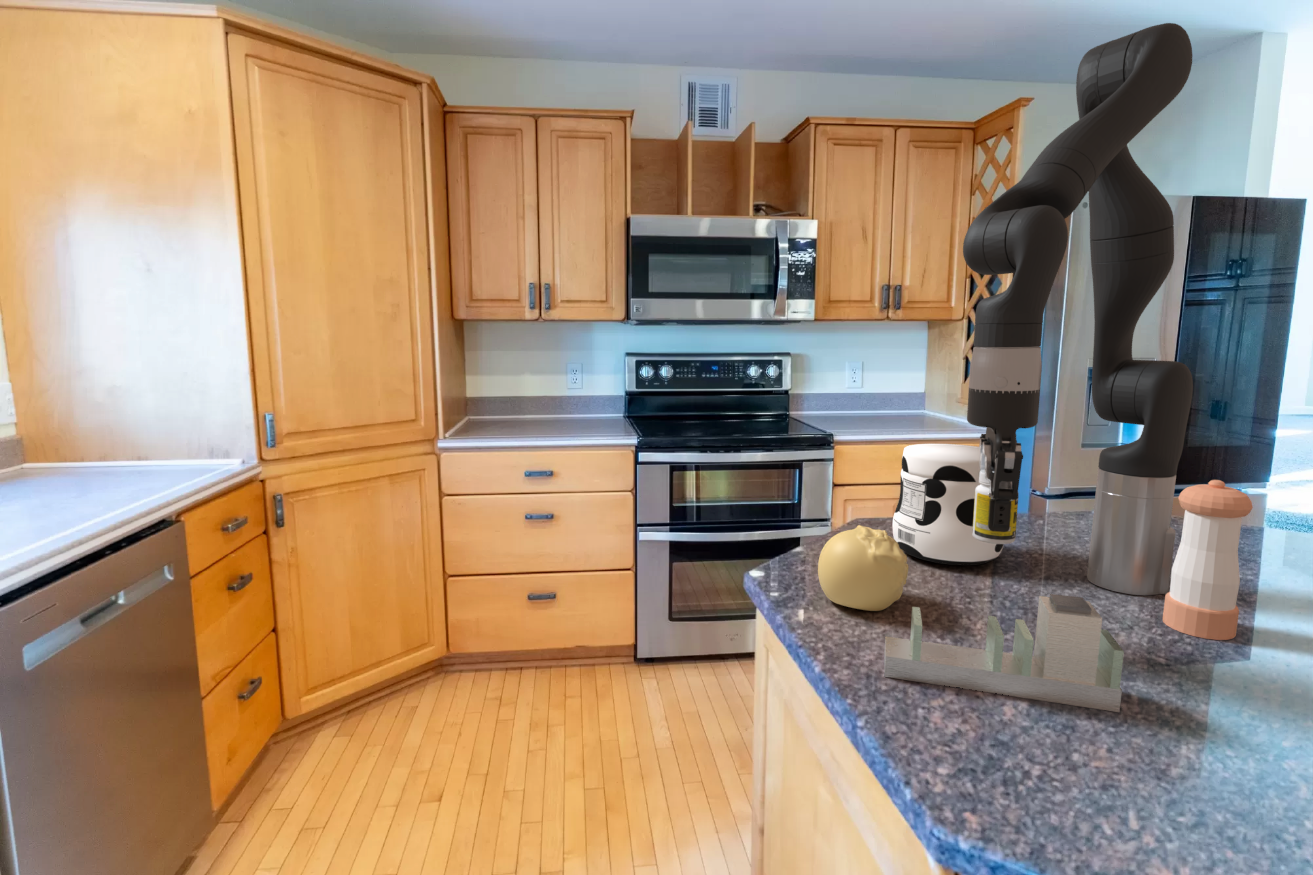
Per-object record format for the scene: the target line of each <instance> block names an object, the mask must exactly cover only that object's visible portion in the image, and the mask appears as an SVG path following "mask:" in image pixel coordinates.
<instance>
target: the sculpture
mask: <svg viewBox="0 0 1313 875" xmlns="http://www.w3.org/2000/svg"><path fill="white" fill-rule="evenodd" d="M907 562H908V556H907V554H905V552H904V551H903V550H902V549H900V548H899V545H898V543H897V542H896V540H895V539H894V537H892V536H890V535H888V531H887V530H884V529H883V530H882V529H874V528H871V527H868V526H863V525H862V524H861V525H860V524H858V525H857V526H856V527H855V528H853V529H848V530H843V531H841V532H838V533H837V534H835V535H833V536H832V537H831V538H829V539H828V540H827V541H826V543H825V544H824V546H823V548H822V549H821V551H820V554H819V558H818V564H817V574H818V581H819V584H820V587H821V589H822V591H823V593H824V595H825V596H826V598H827V599H828V600H830V601H831V602H833V603H835V604H837V605H840V606H842V607H843V606H844V607H846V608H847V607H848V608H852V609H857V610H863V611H870V612H880V611H883V610H886V609H888V608H889V607H890V606H891V605H892V604H894V602H896V601H898V600H900V598H901V596H902V595H903V591H904V586H905V585H906V584H907V579H908V574H909V564H908V563H907Z"/></svg>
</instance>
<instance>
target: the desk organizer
mask: <svg viewBox="0 0 1313 875" xmlns="http://www.w3.org/2000/svg"><path fill="white" fill-rule="evenodd" d="M1037 606H1038V608H1037V616H1036V617H1037V618H1036V626H1035V627H1036V628H1035V639H1034V638H1033V636H1032V634H1031V632H1030V630H1029V628H1028V626H1027V624H1026V621H1025V619H1020V618H1019V619H1017V618H1015V621H1014V630H1013V631H1014V634H1013V643H1012V644H1013V645H1012V652H1005V651H1004V641H1005V635H1004V633H1003V630H1002V627H1001V625H1000V623H999V621H998V617H997V616H994V615H987V625H986V635H985V636H986V637H985V638H986V639H985V648H984V649H981V648H975V647H974V648H973V647H969V646H968V647H967V646H962V645H961V646H960V645H951V644H944V643H937V642H929V641H922V638H923V620H922V612H921V608H920V607H919V606H911V623H910V635H909V636H910V639H909V638H908V639H907V638H900V637H894V636H885V638H884V655H883V656H884V659H883V663H884V664H883V666H884V677H885V678H890V679H891V678H892V679H897V680H903V681H904V680H905V681H911V682H917V683H923V684H930V685H936V686H937V685H938V686H944V685H945V687H949V686H950V688H956V687H960V688H959V689H962V688H963V690H969V689H972V690H971V691H975V690H977V691H976V692H982V691H983V693H989V694H995V693H997V695H1002V694H1003V695H1004V696H1008V695H1009V696H1010V697H1017V698H1023V699H1029V700H1036V701H1042V702H1049V703H1055V704H1063V705H1070V706H1076V707H1082V708H1089V709H1095V710H1100V711H1108V712H1114V713H1115V712H1116V713H1120V710H1121V709H1120V708H1121V700H1122V694H1123V693H1122V692H1123V690H1122V687H1121V680H1122V672H1123V663H1124V654H1125V651H1124V650H1123V647H1121V646H1120V645H1119V642H1117V641H1116V639H1115V638H1114V636H1113V635H1112V634H1111V632H1110V631H1109V630H1108V629H1104V628H1102V624H1103V617H1102V616H1101V615H1100V614H1099V612H1098V611H1097V610H1096V608H1095V607H1094V606H1093V604H1092V603H1091V602H1090V601H1089V600H1085V599H1084V597H1081V596H1073V595H1063V594H1055V593H1054V594H1053V593H1049V596H1041V595H1039V596H1038V605H1037ZM1003 695H1002V696H1003Z"/></svg>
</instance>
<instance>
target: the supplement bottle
mask: <svg viewBox="0 0 1313 875" xmlns="http://www.w3.org/2000/svg"><path fill="white" fill-rule="evenodd" d="M992 472H993V473H994V471H992ZM979 482H980V483H981V485H978V486H977V487H976V489H975V501H974V517H973V533H972V534H973V537H974V538H976V539H977V540H979V541H982V542H986V543H991V544H1004V545H1010V544H1012V543H1014V542H1015V540H1016V536H1017V521H1018V507H1019V506H1018V505H1019V492H1018V497H1017V500H1013V501H1011V514H1010V528H1009V531H1007V532H997V531H991V530H990V529H989V527H988V516H989V501H990V499H989V497H988V493H989V481H987V480H986V479H985V470H981V471H980V475H979ZM999 488H1002V489H1008V483H1007V482H1006V481H1002V482H1000V483H999Z"/></svg>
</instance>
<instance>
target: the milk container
mask: <svg viewBox="0 0 1313 875" xmlns="http://www.w3.org/2000/svg"><path fill="white" fill-rule="evenodd" d="M979 463H980V447H979V446H977V445H976V446H975V445H968V444H967V445H966V444H956V443H955V444H954V443H915V444H910V445H907V446H904V447H903V453H902V457H901V470H900V484H899V485H900V490H899V498H898V502H897V505H896V508H895V510H894V514H893V517H892V535H893V539H895V540H896V542H897V543H898V545H899V548H900V549H902V550H903V552H904V553H906V555H909V556H912V557H915V558H917V559H919V560H923V561H928V562H931V563H935V564H945V565H949V566H974V565H975V566H976V565H985V564H986V563H989V562H992V561H995V560H996V559H997V558H998V557H999V556H1000V554H1001V553H1002V552H1003V548H1004V545H1005V544H991V543H986V542H982V541H979V540H977V539H976V538H974V537H973V534H972V533H973V517H974V501H975V489H976V487H977V486H978V485H981V483H980V482H979V473H980V467H979Z"/></svg>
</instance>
